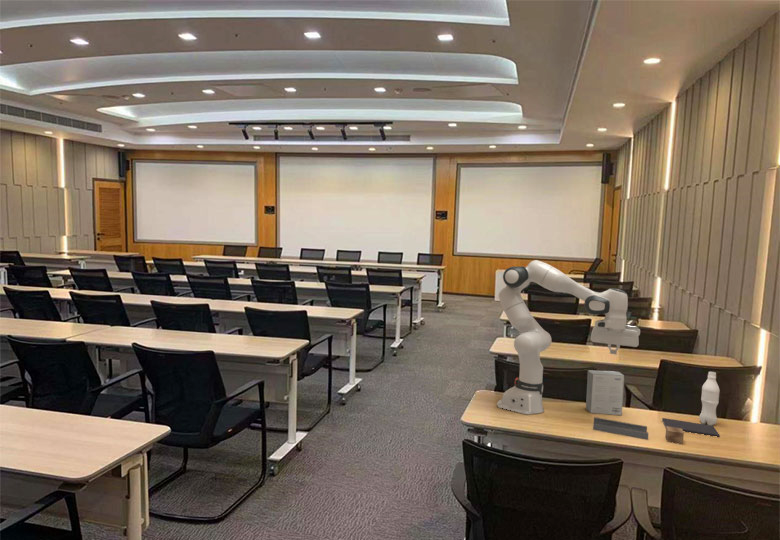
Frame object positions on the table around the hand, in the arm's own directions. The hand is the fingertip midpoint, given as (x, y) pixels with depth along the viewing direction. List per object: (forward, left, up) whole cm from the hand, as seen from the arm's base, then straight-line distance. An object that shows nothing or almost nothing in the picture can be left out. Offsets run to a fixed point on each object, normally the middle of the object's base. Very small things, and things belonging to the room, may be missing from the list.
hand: (613, 353), depth 230 cm
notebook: (+35, +15, -34) cm, 51 cm away
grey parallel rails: (+5, -6, -33) cm, 34 cm away
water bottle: (+44, +27, -33) cm, 61 cm away
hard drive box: (-2, +18, -33) cm, 38 cm away
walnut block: (+26, -6, -33) cm, 43 cm away
